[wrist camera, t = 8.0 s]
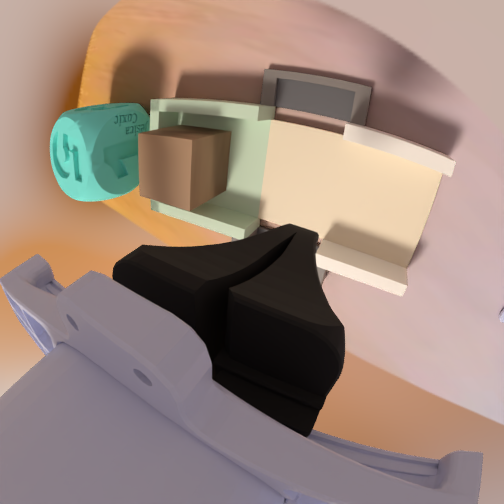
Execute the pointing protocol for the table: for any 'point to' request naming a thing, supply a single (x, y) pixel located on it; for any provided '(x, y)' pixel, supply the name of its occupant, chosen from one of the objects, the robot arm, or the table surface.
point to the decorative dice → (98, 150)
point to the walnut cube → (183, 164)
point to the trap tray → (316, 175)
